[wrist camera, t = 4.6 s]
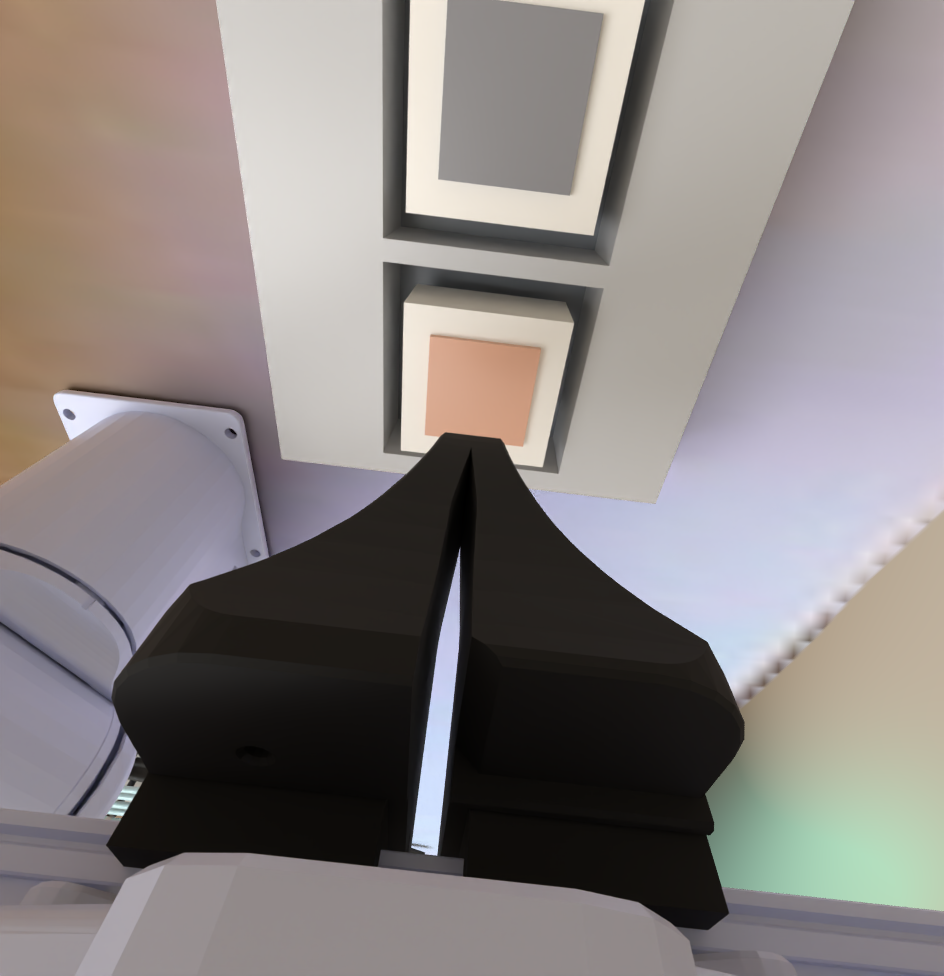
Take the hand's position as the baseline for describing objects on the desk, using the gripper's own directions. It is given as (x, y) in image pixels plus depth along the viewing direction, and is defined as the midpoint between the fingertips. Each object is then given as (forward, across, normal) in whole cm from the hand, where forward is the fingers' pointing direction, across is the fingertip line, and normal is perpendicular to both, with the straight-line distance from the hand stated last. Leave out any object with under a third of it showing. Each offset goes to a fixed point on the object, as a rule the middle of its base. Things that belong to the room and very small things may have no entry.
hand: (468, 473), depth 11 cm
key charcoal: (+7, 0, -7) cm, 10 cm away
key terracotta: (+7, 0, 0) cm, 7 cm away
